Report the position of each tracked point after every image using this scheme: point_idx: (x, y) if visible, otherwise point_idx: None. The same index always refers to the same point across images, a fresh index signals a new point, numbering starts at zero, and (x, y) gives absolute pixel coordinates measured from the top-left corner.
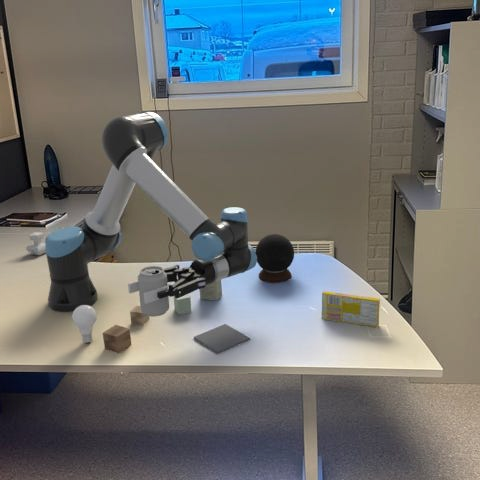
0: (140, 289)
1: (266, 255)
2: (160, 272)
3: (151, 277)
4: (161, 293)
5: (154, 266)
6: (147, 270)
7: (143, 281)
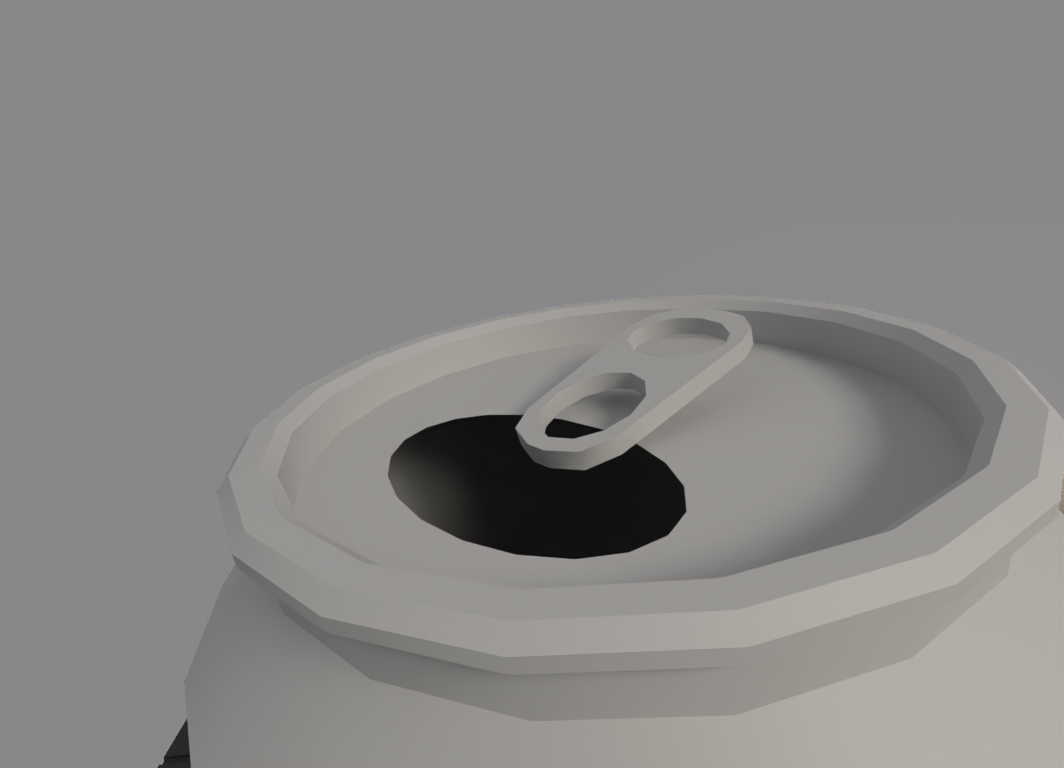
0: (599, 542)
1: None
2: (254, 466)
3: (374, 412)
4: (184, 727)
5: (987, 448)
6: (789, 389)
7: (488, 416)
